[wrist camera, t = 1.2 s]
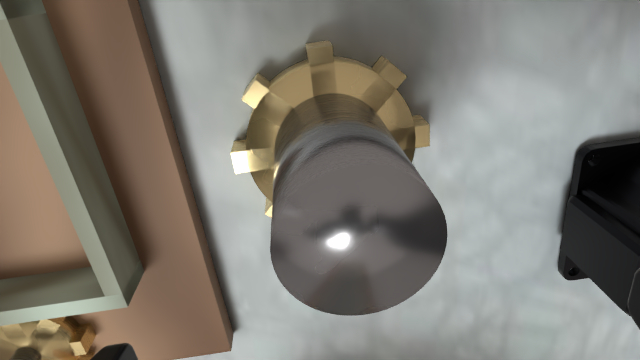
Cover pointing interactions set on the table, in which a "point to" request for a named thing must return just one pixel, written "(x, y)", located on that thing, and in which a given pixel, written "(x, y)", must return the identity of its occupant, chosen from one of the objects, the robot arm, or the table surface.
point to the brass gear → (342, 183)
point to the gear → (47, 340)
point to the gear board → (98, 185)
